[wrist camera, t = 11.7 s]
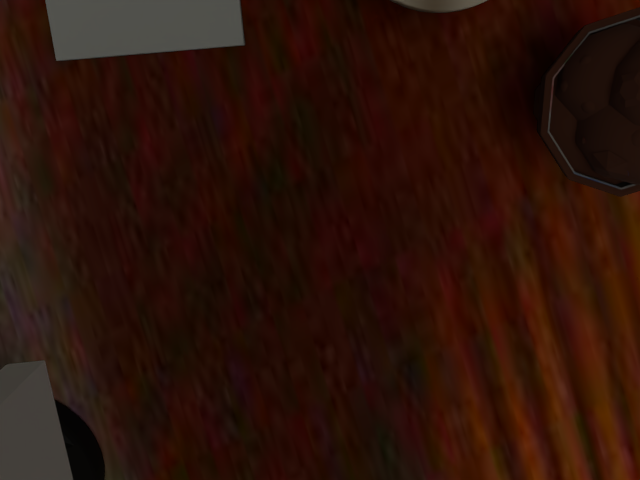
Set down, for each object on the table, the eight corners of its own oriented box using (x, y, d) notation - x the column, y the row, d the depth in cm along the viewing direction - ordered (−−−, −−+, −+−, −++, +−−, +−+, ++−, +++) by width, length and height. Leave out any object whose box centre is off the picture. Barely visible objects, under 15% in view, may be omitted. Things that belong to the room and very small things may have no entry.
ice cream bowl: (480, 55, 44) (555, 39, 29) (629, 6, 43) (785, -37, 28) (513, 190, 46) (598, 236, 32) (656, 146, 45) (811, 172, 31)
